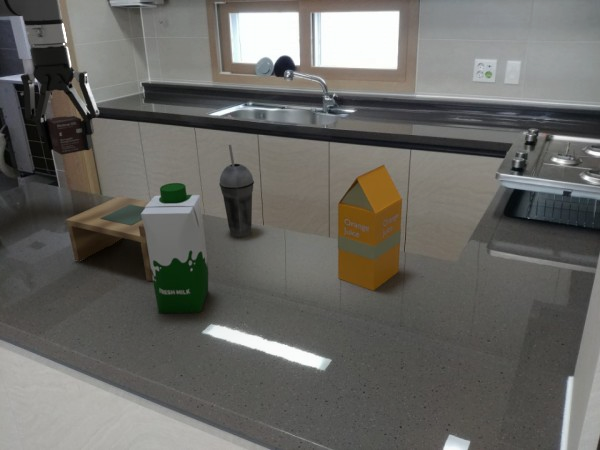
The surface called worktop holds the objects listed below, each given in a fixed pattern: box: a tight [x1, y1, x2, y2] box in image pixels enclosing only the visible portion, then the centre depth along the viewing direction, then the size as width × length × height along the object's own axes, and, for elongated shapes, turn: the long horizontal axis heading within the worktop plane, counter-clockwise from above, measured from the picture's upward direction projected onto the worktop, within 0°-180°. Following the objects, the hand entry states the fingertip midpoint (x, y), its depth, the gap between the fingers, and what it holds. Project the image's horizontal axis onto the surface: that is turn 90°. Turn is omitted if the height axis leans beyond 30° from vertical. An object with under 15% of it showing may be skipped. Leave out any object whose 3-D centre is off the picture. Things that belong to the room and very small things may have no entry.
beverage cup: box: [218, 144, 255, 238], centre depth 113 cm, size 7×7×20 cm
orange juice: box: [337, 164, 403, 292], centre depth 94 cm, size 8×9×20 cm
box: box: [45, 115, 87, 156], centre depth 122 cm, size 6×6×7 cm
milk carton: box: [141, 182, 209, 314], centre depth 88 cm, size 9×9×20 cm
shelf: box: [65, 195, 153, 282], centre depth 106 cm, size 20×14×11 cm
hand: (69, 149), depth 123 cm, fingers closed on box, 8 cm apart
